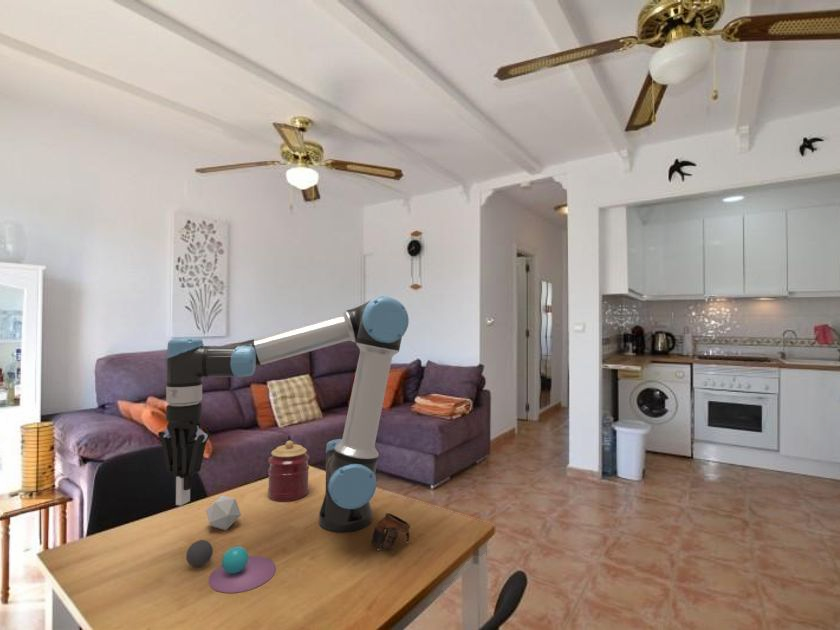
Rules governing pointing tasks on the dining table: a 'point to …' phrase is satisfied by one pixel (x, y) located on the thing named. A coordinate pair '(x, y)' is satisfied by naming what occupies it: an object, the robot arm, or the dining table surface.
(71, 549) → the dining table surface
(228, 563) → the object ball
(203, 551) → the dark grey ellipsoid
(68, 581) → the dining table surface
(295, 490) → the canister
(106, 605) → the dining table surface
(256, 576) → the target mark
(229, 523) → the die
